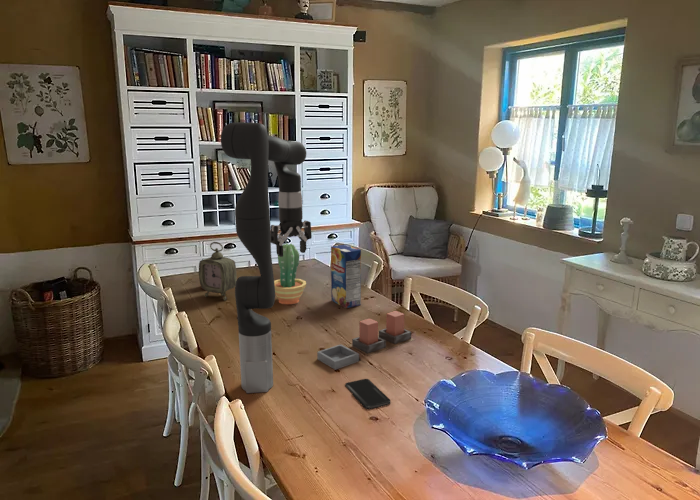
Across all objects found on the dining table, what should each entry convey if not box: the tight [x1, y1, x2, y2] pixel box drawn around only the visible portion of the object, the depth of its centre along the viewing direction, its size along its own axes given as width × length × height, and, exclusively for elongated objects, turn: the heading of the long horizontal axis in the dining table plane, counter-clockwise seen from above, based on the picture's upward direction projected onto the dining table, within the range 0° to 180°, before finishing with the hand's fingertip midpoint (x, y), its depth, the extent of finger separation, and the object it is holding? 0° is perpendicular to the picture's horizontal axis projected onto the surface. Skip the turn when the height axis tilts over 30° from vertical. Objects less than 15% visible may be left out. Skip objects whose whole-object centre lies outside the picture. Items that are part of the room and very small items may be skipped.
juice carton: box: [330, 244, 362, 309], centre depth 225 cm, size 12×8×24 cm, turn 32°
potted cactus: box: [274, 243, 307, 305], centre depth 227 cm, size 15×15×25 cm
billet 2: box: [385, 310, 405, 336], centre depth 186 cm, size 4×4×9 cm
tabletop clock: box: [198, 241, 238, 301], centre depth 233 cm, size 14×9×25 cm, turn 62°
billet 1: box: [358, 318, 379, 345], centre depth 179 cm, size 4×4×9 cm
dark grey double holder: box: [348, 328, 416, 357], centre depth 183 cm, size 21×11×4 cm, turn 128°
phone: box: [344, 378, 391, 410], centre depth 151 cm, size 8×1×15 cm
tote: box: [317, 343, 360, 371], centre depth 172 cm, size 10×10×3 cm
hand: (291, 254), depth 175 cm, fingers open, 8 cm apart
